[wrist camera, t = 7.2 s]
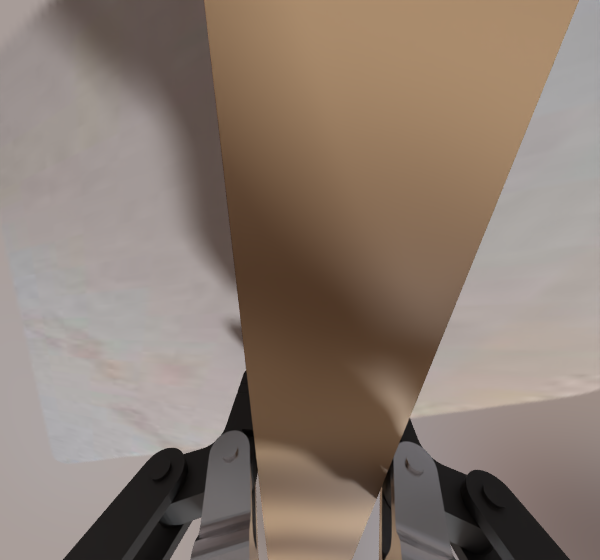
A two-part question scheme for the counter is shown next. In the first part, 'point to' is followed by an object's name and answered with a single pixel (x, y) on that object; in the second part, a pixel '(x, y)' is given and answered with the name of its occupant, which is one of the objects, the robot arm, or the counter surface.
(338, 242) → the rail
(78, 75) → the counter surface
